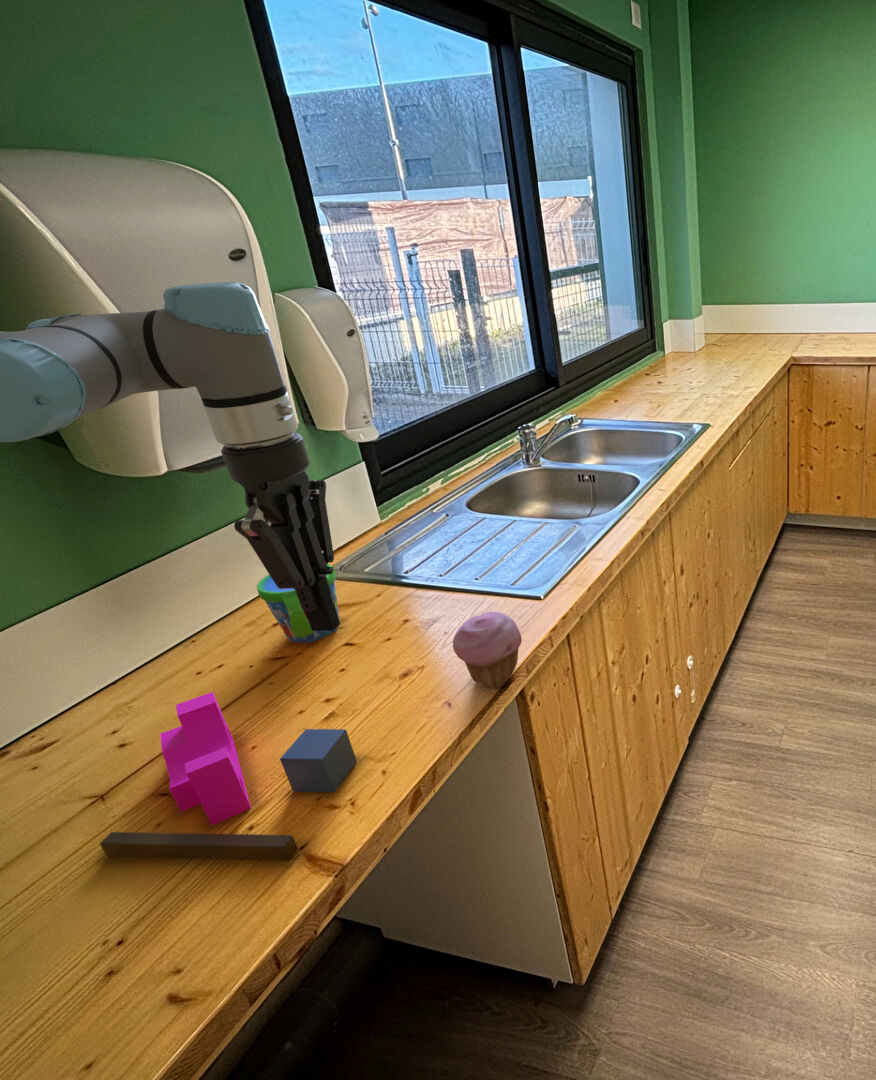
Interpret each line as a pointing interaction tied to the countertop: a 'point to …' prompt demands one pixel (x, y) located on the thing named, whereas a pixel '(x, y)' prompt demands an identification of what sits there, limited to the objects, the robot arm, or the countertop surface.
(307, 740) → the cube
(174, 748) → the toy block
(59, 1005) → the countertop surface
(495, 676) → the cupcake
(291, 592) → the snack cup
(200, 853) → the straightedge
